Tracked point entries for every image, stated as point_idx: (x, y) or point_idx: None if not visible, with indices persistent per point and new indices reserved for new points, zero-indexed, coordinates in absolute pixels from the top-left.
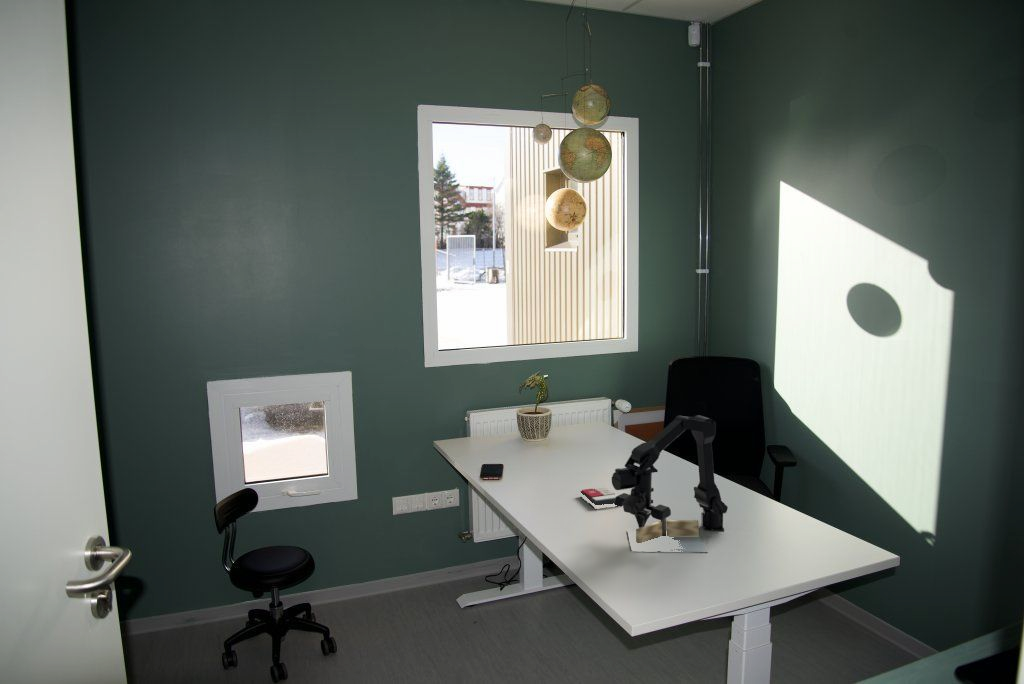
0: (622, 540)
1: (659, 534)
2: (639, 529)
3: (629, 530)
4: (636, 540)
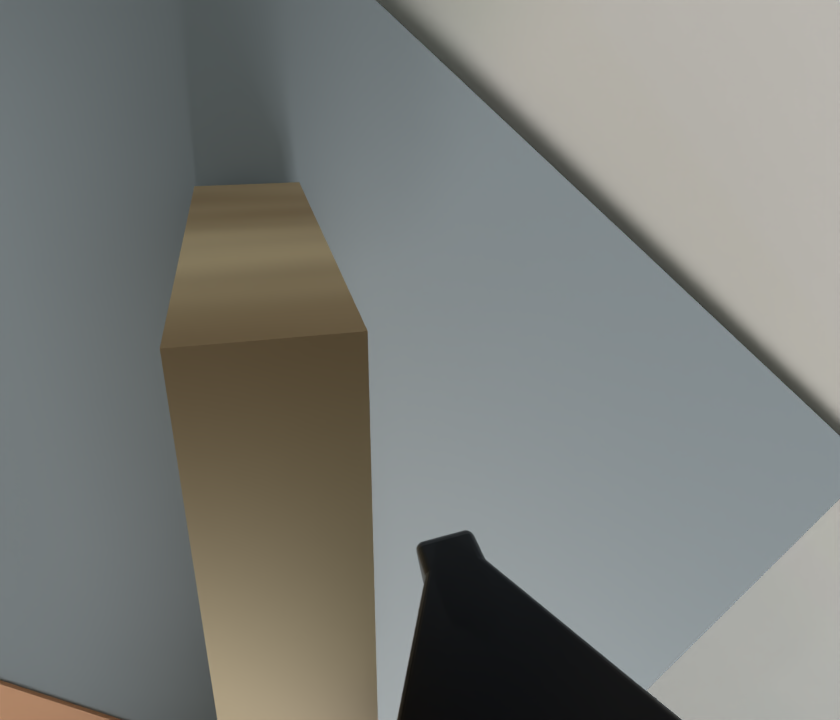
0: (688, 85)
1: None
2: (225, 435)
3: (835, 510)
4: (293, 197)
